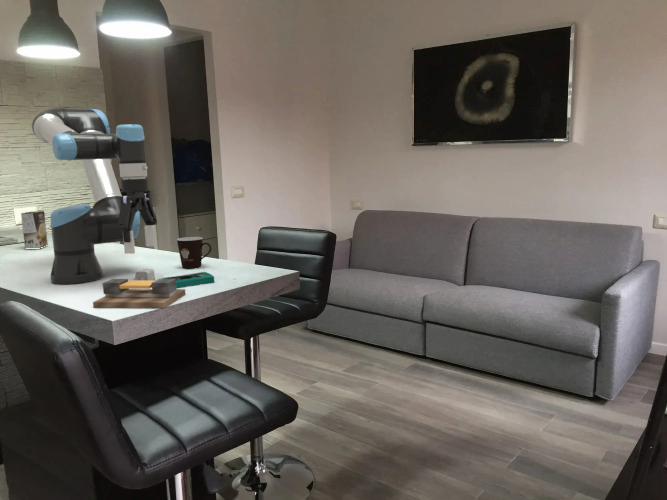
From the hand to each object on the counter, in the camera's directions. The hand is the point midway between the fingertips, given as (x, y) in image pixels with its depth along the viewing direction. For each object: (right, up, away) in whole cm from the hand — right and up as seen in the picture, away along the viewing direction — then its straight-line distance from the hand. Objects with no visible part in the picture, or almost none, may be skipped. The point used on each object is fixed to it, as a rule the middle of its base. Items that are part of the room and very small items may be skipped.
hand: (140, 249), depth 166 cm
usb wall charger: (0, -11, +2) cm, 11 cm away
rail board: (+7, -14, -19) cm, 24 cm away
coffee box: (-73, 0, +78) cm, 107 cm away
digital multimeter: (+14, -11, 0) cm, 18 cm away
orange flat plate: (+6, -10, -19) cm, 23 cm away
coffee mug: (+10, -6, +25) cm, 27 cm away
